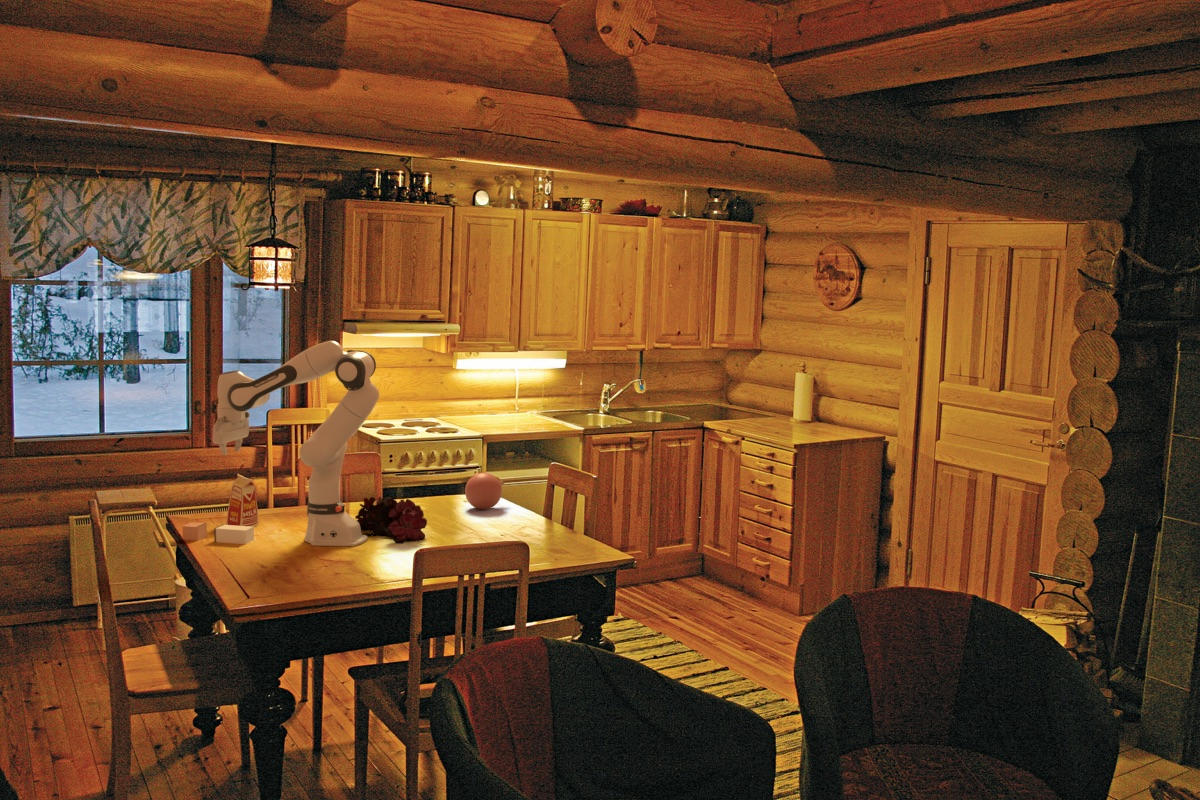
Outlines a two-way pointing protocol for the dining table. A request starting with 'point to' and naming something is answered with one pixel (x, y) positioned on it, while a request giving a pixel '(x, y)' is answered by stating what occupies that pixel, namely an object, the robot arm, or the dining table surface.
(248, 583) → the dining table surface
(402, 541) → the flower arrangement
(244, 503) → the milk carton
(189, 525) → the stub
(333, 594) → the dining table surface
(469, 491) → the balloon
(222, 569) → the dining table surface
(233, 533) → the cream rectangular block
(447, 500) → the dining table surface
